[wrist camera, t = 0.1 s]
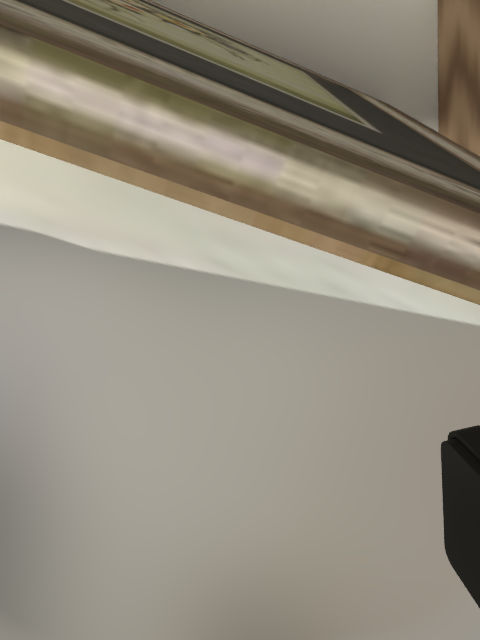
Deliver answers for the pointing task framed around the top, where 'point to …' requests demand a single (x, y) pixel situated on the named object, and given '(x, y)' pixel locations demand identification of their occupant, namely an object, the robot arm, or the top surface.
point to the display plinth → (459, 72)
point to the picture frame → (239, 135)
